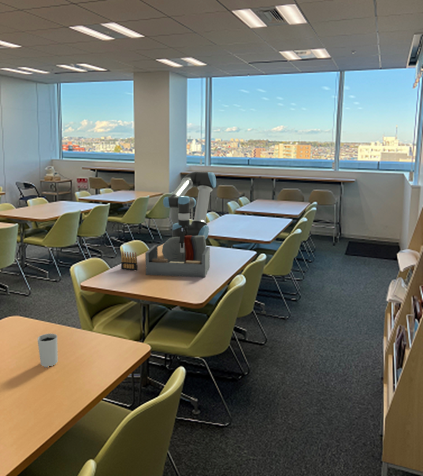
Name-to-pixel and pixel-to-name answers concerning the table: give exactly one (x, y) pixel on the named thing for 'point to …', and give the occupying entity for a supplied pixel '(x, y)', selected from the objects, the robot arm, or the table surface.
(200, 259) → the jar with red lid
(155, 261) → the walnut offcut
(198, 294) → the table surface
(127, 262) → the ammunition clip
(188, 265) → the rack
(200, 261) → the teak offcut
